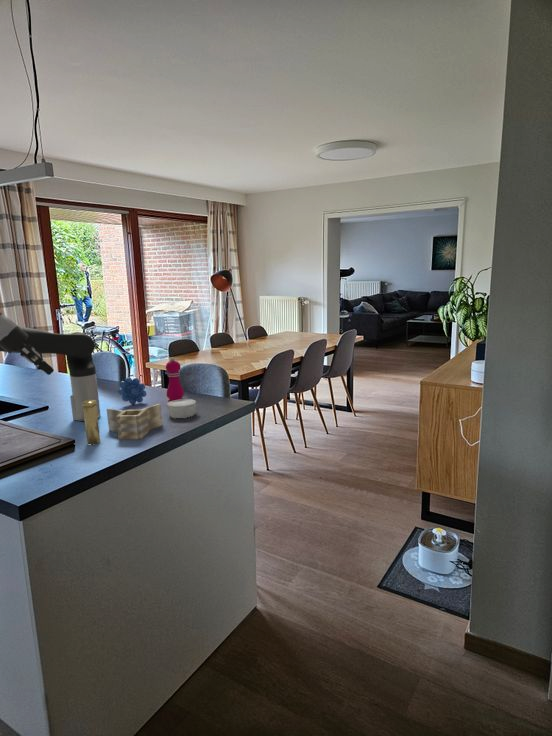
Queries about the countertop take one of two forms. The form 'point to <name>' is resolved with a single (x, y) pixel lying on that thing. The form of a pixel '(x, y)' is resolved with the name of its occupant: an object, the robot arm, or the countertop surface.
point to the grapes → (132, 390)
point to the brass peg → (91, 421)
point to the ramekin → (181, 408)
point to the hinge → (134, 421)
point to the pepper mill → (174, 381)
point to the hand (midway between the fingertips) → (50, 371)
